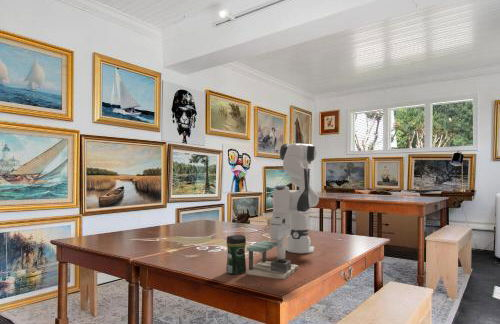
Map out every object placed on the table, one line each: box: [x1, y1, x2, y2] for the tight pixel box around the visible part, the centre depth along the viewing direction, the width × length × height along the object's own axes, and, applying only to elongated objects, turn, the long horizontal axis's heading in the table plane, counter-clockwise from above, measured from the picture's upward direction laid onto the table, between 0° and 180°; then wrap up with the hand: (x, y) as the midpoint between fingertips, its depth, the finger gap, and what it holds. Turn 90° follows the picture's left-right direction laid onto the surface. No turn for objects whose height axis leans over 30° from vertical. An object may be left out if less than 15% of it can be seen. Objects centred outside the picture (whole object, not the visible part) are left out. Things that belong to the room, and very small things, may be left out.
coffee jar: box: [225, 234, 247, 275], centre depth 171 cm, size 10×8×19 cm
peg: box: [276, 234, 287, 260], centre depth 169 cm, size 4×4×12 cm
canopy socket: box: [246, 240, 299, 281], centre depth 173 cm, size 20×20×13 cm
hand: (281, 246), depth 169 cm, fingers closed on peg, 4 cm apart
